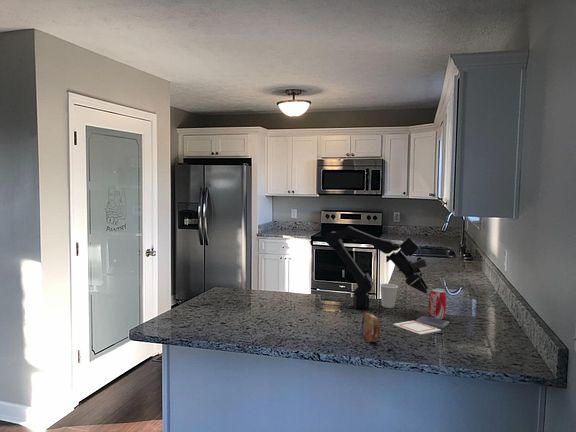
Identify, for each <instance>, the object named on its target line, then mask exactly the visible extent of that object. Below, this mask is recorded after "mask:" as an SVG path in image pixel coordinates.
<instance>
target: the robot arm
mask: <svg viewBox="0 0 576 432" xmlns="http://www.w3.org/2000/svg"><path fill="white" fill-rule="evenodd" d="M348 236H349V237H352V238H354V239H357V240H358V241H361V242H363V243H366V244H368V245H371V246H373V247H374V248H376V249H377V250H378V251H380V252H382V253H384V254H385V255H386V256H385V258H386V260H385V262H386V263H389V261H391V262H392V263H393V264H394V266H396V268H398V271H399V272H401V274H403V276H404V278H405V283H406V285H408V286H409V287H411V288H413V289H416V290H418V291H420V292H421V293H424V294H428V289H429V287H428V285H427V284H426V282H425V280H424V278H423V272H422V269H421V268H425V267H426V268H427V266H428V263H427V261H426V259H425V257H423V258H422V257H421V256H419V257H417V258H416V260H415V261H412V260H409V259H408V258H407V257H408V256H409V257H413V255H415V254H416V253H417V252H418V251H420V249H421V247H420V246H419V245H418V243H417V242H416V241H414V240H413V239H412V238H411V237H410V236H409V237H407V239H405V241H403V242H402V243H401V244H399V243H395V242H394V241H392V240H391V239H386V238H382V237H376V236H374V235H372V234H369V233H367V232H365V231H364V232H363V231H362V230H359V229H357V228H354V227H353V226H350V225H349V226H346V227H345V228H343V229H340V230H338V231H331V232H330V231H329V232H327V233H326V234H325V237H324V240H325V243H326V244H327V245H328V246H329V247H330V248H332V249H333V250H334V251H335V252H336V253H337V254H338V256H339V257H340V258H341V260H342V262H343V263H344V265H346V267H347V269H348V270H349V271H350V272H351V275H352V276H353V278H354V279H355V283H356V285H357V287H356V288H355V289H354V290H353V296H352V297H353V299H352V305H350V306H351V308H354V309H355V310H357V311H358V310H363V311H364V310H371V308H370V295H369V294H368V293H370V292H371V291H372V289H373V288H374V284H375V283H374V279H373V278H372V276H370V273H369V272H367V273H364V272H363V271H362V269H361V268H360V267H359V265H358V264H357V263H356V261H355V260H354V258H353V257H352V256H351V253H349V251H348V249H346V247H345V245H344V243H343V240H342V239H344V238H346V237H348ZM395 251H397V252H395ZM388 254H390V255H388Z"/></svg>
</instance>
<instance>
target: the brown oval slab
mask: <svg viewBox="0 0 576 432" xmlns="http://www.w3.org/2000/svg"><path fill="white" fill-rule="evenodd" d="M380 322H381V321H379V319H378V317H376V316H375V315H374V314H373V313H371V312H370V313H368V312H364V314H363V315H362V321H361V333H362V335H363V337H364V338H365V339H366V340H367V342H369V343H377V342H378V341H379V338H380V330H381V323H380Z"/></svg>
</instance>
